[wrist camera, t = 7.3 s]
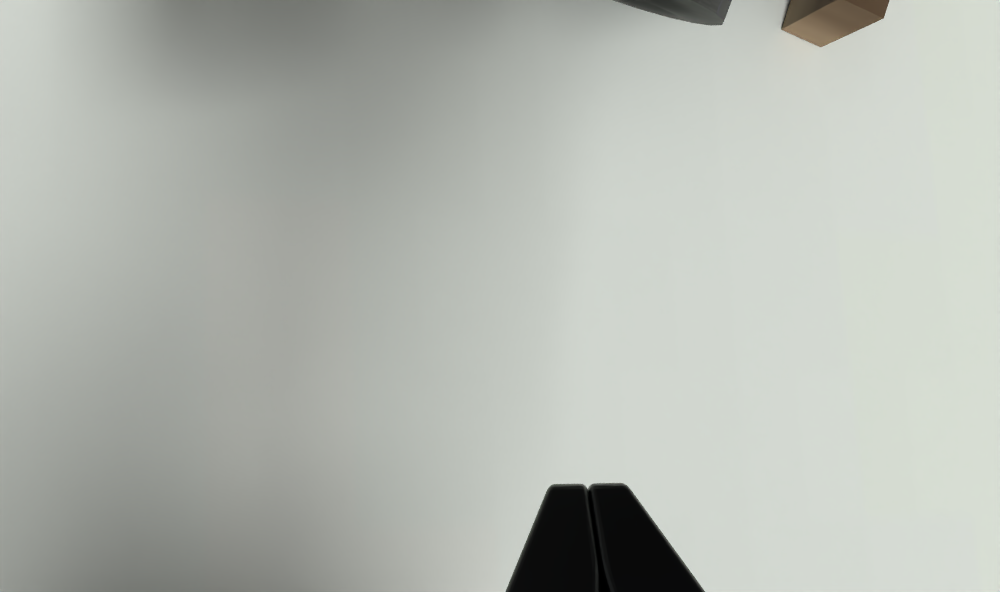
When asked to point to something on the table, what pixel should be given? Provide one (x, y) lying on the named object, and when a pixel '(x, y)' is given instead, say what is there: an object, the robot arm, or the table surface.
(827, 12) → the walnut bay
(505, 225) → the table surface
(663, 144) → the table surface
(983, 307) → the table surface
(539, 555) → the robot arm
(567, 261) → the table surface
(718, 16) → the beverage cup
